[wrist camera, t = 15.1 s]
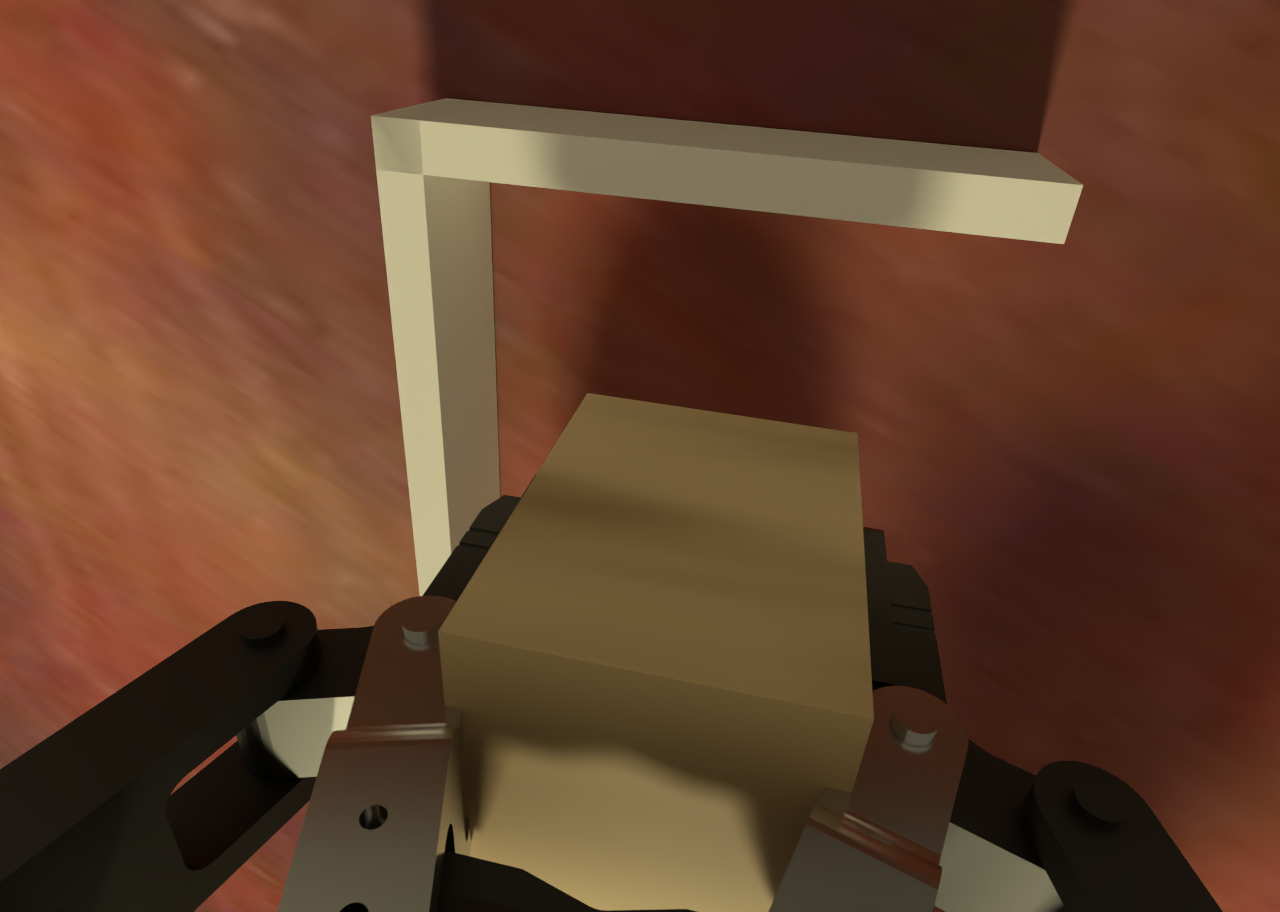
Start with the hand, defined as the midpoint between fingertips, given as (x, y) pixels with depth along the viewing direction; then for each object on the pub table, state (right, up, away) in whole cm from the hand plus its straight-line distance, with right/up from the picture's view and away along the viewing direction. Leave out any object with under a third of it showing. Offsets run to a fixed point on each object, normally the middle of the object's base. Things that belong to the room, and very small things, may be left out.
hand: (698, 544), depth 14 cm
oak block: (0, 0, +1) cm, 1 cm away
